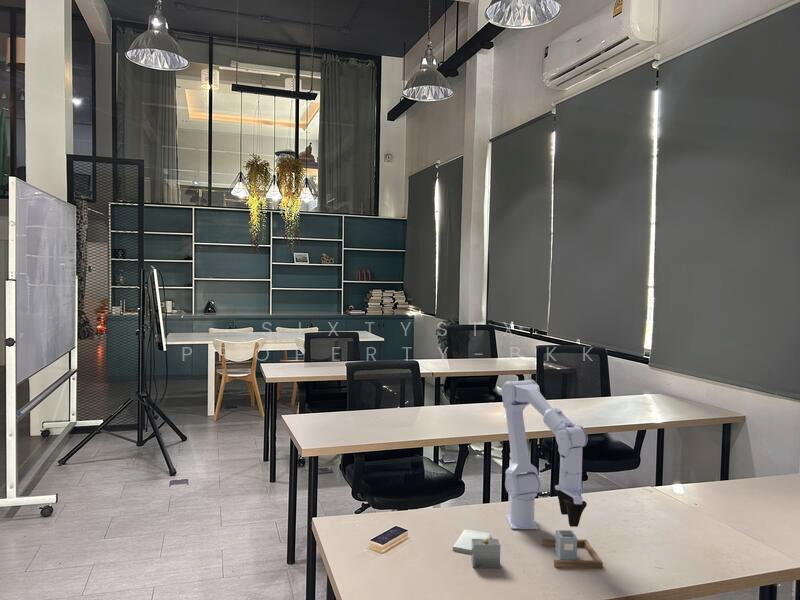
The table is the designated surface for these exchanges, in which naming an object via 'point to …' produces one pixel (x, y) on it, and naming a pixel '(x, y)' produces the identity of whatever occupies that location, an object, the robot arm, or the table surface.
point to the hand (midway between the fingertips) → (569, 520)
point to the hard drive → (469, 540)
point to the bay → (577, 563)
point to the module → (566, 545)
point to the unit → (485, 553)
